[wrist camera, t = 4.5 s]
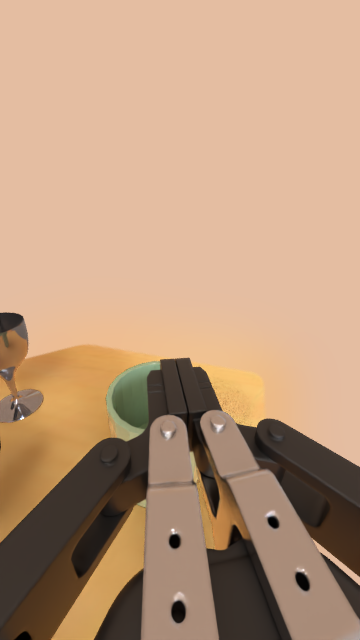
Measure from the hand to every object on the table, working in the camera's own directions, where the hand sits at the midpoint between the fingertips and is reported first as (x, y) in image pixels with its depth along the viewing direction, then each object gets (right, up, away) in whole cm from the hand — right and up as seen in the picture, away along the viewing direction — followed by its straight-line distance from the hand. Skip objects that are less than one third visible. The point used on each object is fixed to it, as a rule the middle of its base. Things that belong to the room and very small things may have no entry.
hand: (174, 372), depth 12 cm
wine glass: (-27, -11, +26) cm, 39 cm away
